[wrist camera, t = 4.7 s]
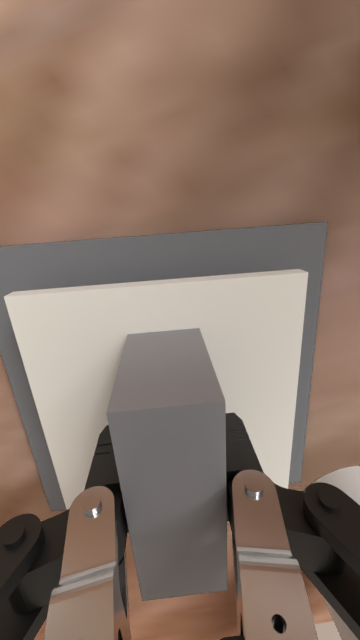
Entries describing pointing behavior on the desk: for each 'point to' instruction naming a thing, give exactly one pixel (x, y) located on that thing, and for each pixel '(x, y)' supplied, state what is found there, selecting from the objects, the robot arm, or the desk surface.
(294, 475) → the mat
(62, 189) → the desk surface
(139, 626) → the desk surface
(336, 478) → the cup
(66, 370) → the lid
